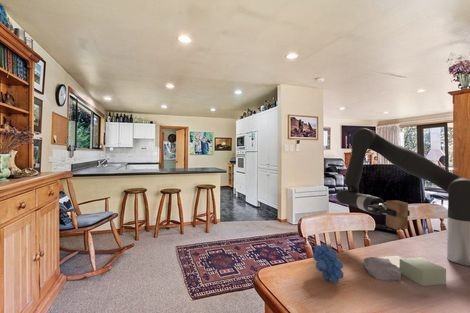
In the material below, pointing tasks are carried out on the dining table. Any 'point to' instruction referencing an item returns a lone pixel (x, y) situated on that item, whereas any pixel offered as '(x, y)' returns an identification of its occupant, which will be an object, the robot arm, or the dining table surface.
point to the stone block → (382, 269)
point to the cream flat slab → (393, 260)
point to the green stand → (423, 271)
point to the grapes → (328, 263)
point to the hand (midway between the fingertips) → (402, 213)
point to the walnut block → (401, 217)
